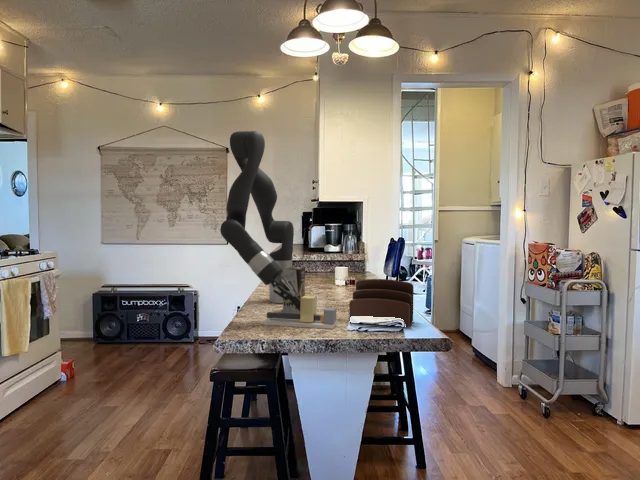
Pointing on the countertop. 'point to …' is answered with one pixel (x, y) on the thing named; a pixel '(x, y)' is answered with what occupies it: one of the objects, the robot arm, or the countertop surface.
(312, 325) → the white base plate
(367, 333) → the countertop surface
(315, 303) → the sleeve
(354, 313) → the letter holder
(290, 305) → the coffee box
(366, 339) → the countertop surface
